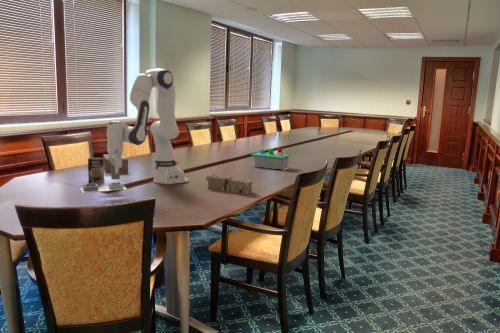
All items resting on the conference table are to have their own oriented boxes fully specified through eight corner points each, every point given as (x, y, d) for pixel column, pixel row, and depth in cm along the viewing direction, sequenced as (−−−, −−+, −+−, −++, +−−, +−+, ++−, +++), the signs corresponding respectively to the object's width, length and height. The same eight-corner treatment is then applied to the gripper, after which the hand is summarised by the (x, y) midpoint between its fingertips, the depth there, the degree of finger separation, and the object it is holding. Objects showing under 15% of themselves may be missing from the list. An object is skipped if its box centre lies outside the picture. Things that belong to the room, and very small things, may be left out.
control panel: (258, 144, 343) (292, 148, 331) (257, 164, 346) (290, 168, 334) (250, 146, 330) (285, 150, 317) (249, 167, 333) (284, 171, 320)
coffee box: (88, 185, 250) (87, 159, 248) (89, 183, 256) (88, 157, 254) (104, 185, 253) (103, 159, 250) (104, 182, 259) (104, 157, 256)
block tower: (253, 194, 249) (212, 186, 261) (254, 180, 247) (213, 173, 260) (247, 196, 242) (205, 188, 254) (248, 182, 240) (206, 175, 253)
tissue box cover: (128, 173, 292) (128, 159, 290) (106, 174, 286) (106, 159, 285) (123, 166, 315) (123, 153, 314) (103, 167, 309) (103, 154, 308)
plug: (118, 177, 242) (118, 162, 241) (119, 179, 239) (119, 163, 237) (111, 178, 240) (111, 163, 239) (112, 179, 237) (112, 164, 235)
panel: (122, 187, 249) (122, 180, 248) (127, 191, 238) (127, 185, 238) (80, 190, 237) (79, 183, 237) (82, 195, 227) (82, 188, 226)
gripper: (124, 151, 229) (124, 175, 232) (117, 146, 247) (117, 169, 249) (112, 151, 226) (113, 176, 229) (106, 146, 244) (106, 169, 246)
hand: (115, 172), depth 239 cm, fingers closed on plug, 4 cm apart
